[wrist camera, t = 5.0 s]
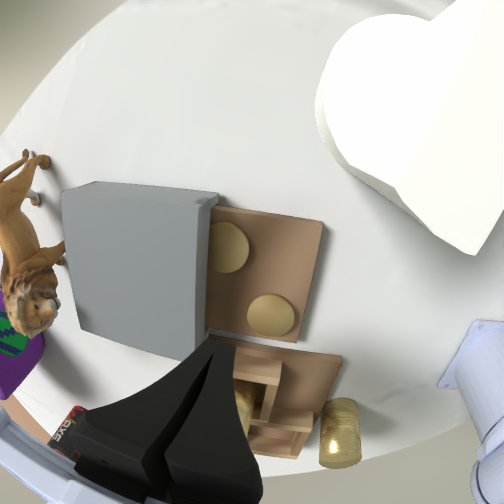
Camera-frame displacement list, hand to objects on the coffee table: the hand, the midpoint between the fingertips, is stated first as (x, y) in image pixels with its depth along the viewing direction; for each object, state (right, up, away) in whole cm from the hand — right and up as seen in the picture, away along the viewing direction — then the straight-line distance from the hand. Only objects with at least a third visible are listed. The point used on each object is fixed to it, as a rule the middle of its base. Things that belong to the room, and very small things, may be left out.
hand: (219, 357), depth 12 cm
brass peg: (+10, -10, +12) cm, 19 cm away
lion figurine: (-16, +7, +9) cm, 20 cm away
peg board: (+2, -9, +13) cm, 16 cm away
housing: (-6, +4, +9) cm, 11 cm away
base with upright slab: (+10, +13, +3) cm, 16 cm away
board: (+1, +3, +8) cm, 9 cm away
